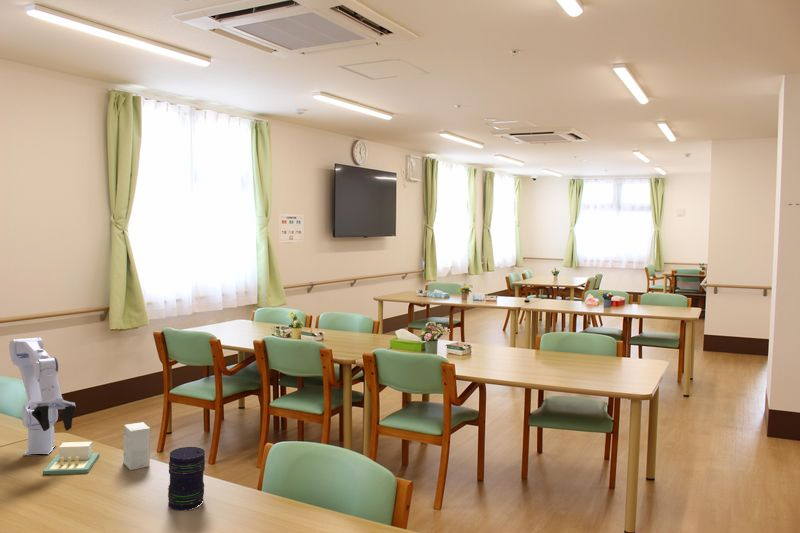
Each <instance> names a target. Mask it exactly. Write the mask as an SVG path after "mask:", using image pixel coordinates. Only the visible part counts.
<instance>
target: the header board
mask: <svg viewBox="0 0 800 533" xmlns="http://www.w3.org/2000/svg"><path fill="white" fill-rule="evenodd" d="M99 457H100V452H92V455H91V456H90V458H89V459H88V460H79V457H75V460H71V457H68V460H64V457H61V458H60V461H58V460H59V453H57V454H56V455H55V457H54V458H53V459H52V460H51V461H50V462H49V463H48V464H47V465H46V467H45V468H44V469H43V470H42V475H43V474H50V475H70V474H72V475H73V474H87V473H88V474H89V472H90V470H91V469H92V467H94V464H95V463H96V461H97V460H98V459H99ZM97 458H98V459H97Z"/></svg>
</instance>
